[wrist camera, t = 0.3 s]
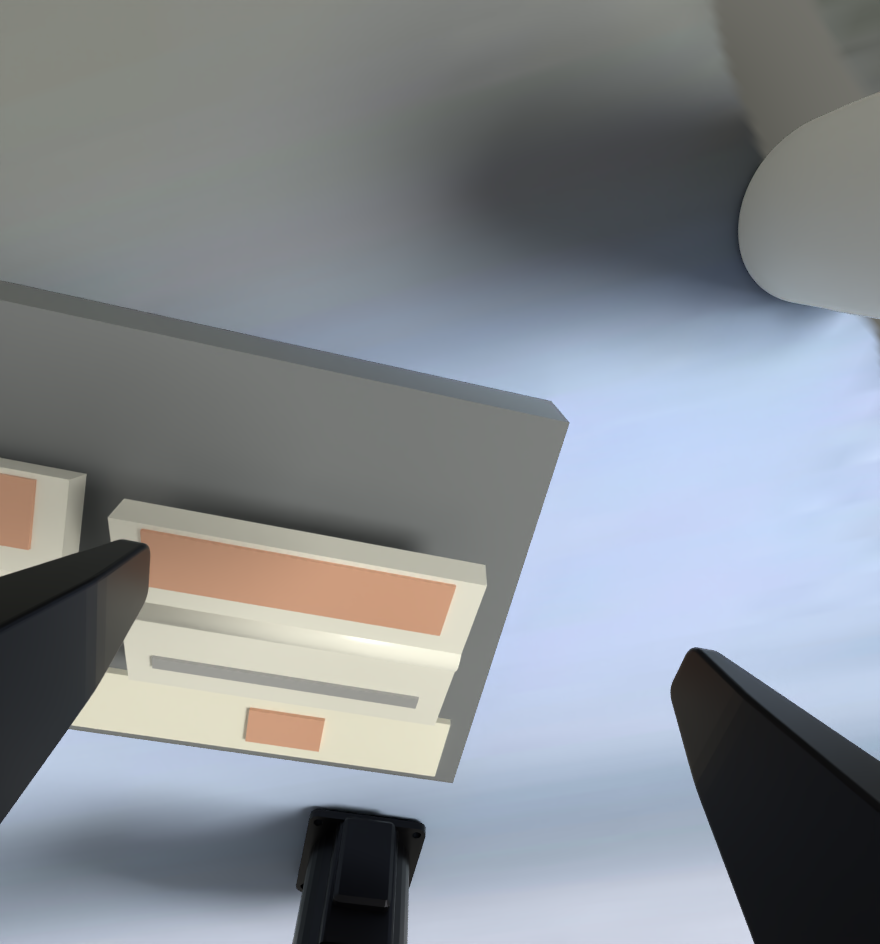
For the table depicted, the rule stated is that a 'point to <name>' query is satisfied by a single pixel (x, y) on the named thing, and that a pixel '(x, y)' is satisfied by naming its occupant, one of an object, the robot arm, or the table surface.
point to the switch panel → (277, 490)
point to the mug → (819, 213)
